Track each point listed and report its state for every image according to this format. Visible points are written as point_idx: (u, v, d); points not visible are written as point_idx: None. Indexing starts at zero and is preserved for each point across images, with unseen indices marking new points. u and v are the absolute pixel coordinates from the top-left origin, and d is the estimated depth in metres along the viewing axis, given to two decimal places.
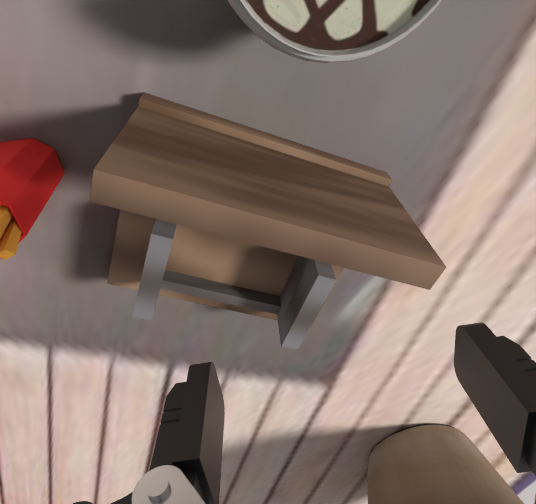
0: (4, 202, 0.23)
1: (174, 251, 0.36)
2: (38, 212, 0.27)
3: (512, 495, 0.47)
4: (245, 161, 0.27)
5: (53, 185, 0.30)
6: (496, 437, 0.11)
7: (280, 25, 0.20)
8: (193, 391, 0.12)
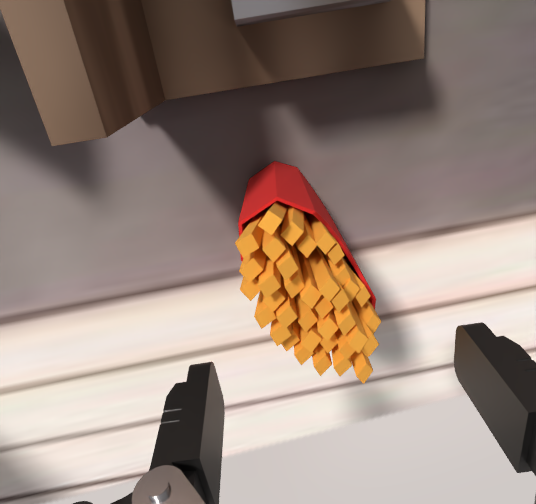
0: (239, 229, 0.18)
1: None
2: (273, 185, 0.20)
3: None
4: None
5: (270, 172, 0.24)
6: (496, 437, 0.11)
7: None
8: (193, 391, 0.12)
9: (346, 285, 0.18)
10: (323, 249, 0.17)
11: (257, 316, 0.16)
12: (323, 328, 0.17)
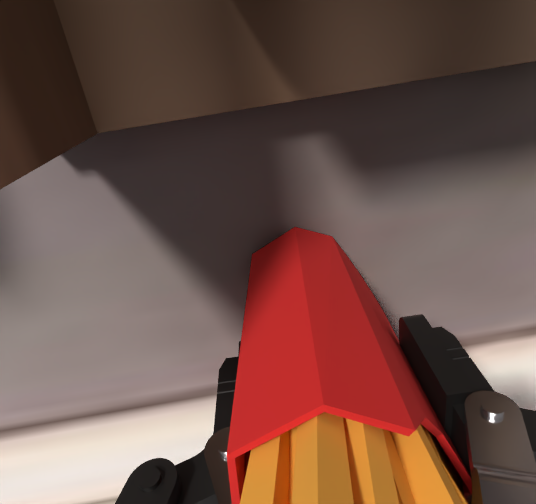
0: (228, 463, 0.08)
1: None
2: (305, 324, 0.09)
3: None
4: None
5: (292, 260, 0.13)
6: None
7: None
8: None
9: None
10: None
11: None
12: None
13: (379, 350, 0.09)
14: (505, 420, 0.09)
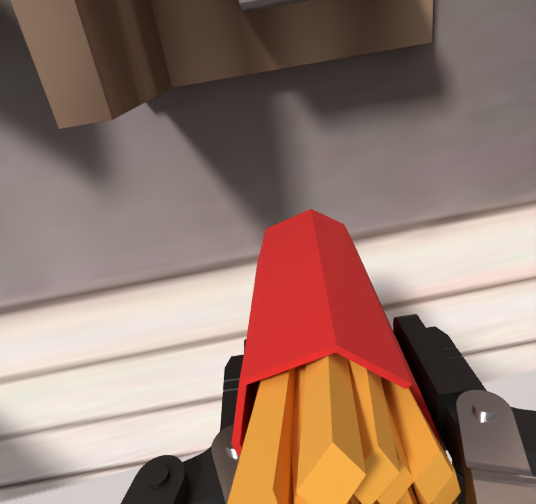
0: (238, 390, 0.08)
1: None
2: (319, 285, 0.10)
3: None
4: None
5: (307, 235, 0.14)
6: None
7: None
8: None
9: None
10: (427, 494, 0.07)
11: None
12: None
13: (383, 319, 0.10)
14: (496, 419, 0.09)
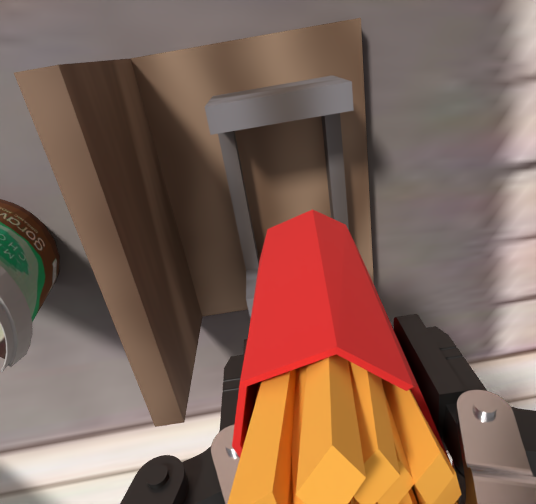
0: (239, 391, 0.08)
1: None
2: (320, 286, 0.10)
3: None
4: None
5: (309, 236, 0.14)
6: None
7: None
8: None
9: None
10: (427, 496, 0.07)
11: None
12: None
13: (384, 321, 0.10)
14: (497, 419, 0.09)
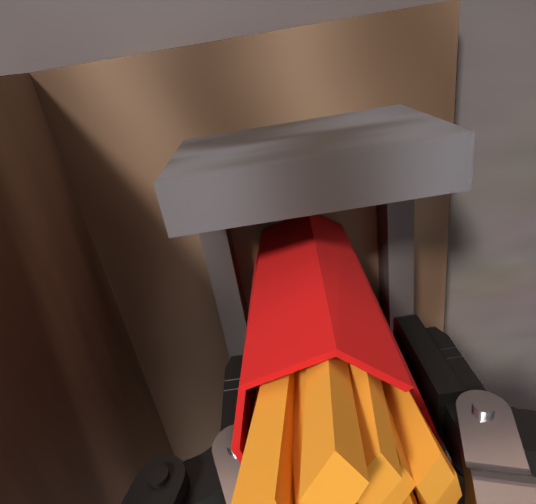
0: None
1: None
2: (318, 287, 0.10)
3: None
4: None
5: (305, 236, 0.14)
6: None
7: None
8: None
9: None
10: (428, 498, 0.07)
11: None
12: None
13: (383, 321, 0.10)
14: (496, 419, 0.09)
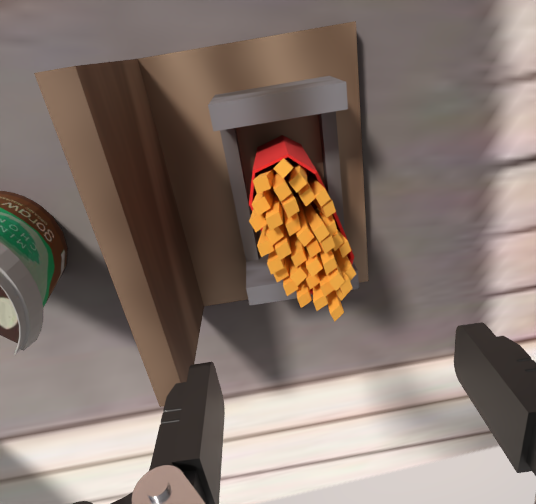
0: None
1: None
2: (283, 148, 0.24)
3: None
4: None
5: (279, 141, 0.27)
6: (496, 437, 0.11)
7: None
8: (193, 391, 0.12)
9: (333, 237, 0.22)
10: (320, 202, 0.21)
11: (259, 246, 0.20)
12: (310, 265, 0.20)
13: (311, 162, 0.24)
14: None
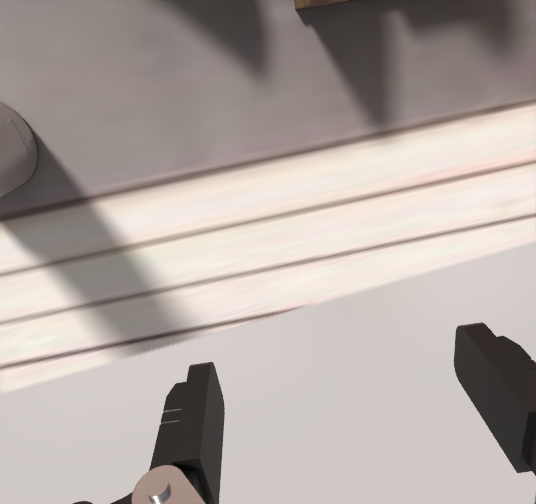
0: None
1: None
2: None
3: None
4: None
5: None
6: (496, 437, 0.11)
7: None
8: (193, 391, 0.12)
9: None
10: None
11: None
12: None
13: None
14: None
